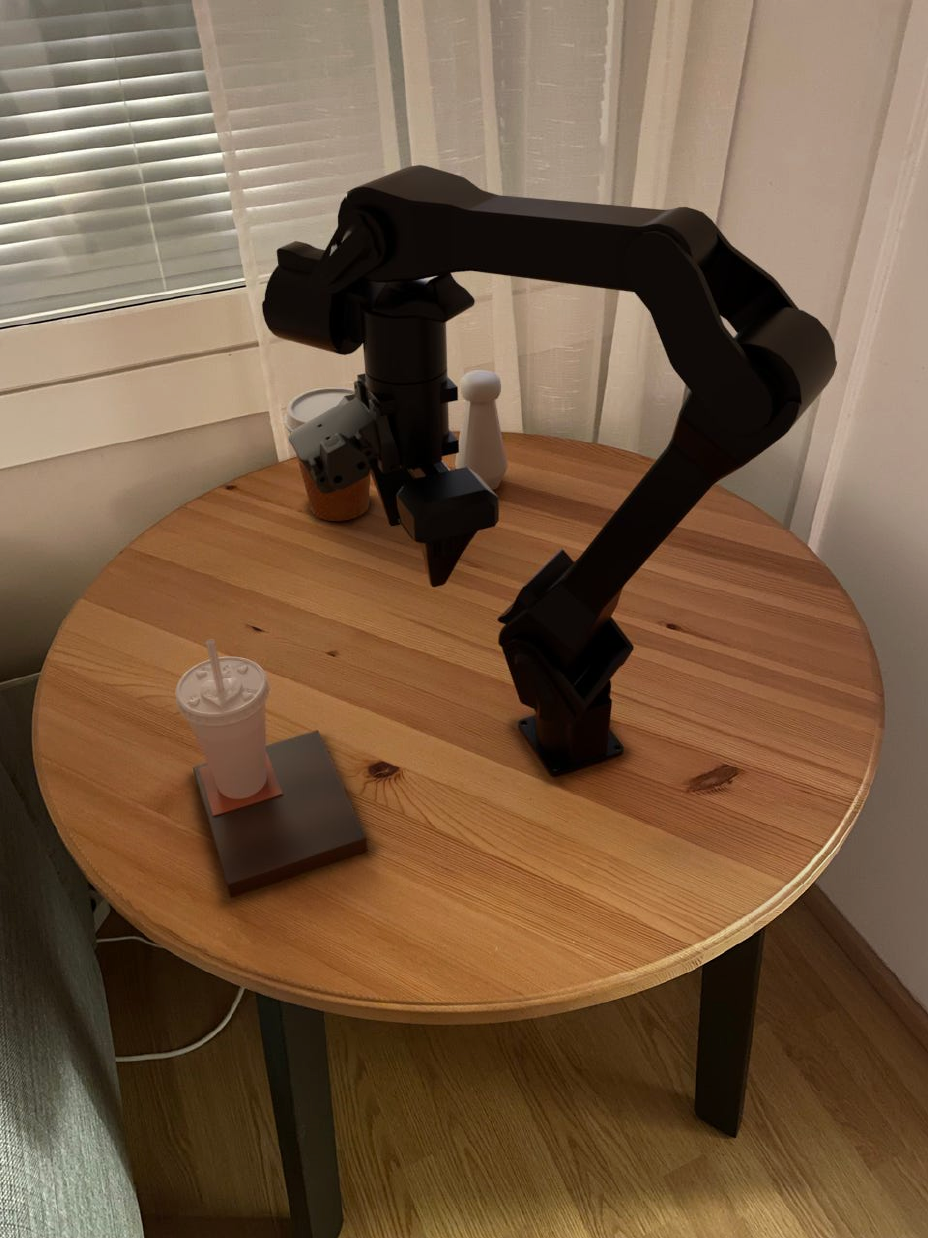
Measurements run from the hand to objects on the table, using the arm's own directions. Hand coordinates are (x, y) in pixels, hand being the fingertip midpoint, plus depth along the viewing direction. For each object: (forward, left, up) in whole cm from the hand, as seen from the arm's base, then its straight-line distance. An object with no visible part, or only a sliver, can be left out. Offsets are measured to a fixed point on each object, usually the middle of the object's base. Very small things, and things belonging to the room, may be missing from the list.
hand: (415, 553), depth 79 cm
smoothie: (-7, +17, -12) cm, 22 cm away
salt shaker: (+28, -18, -13) cm, 36 cm away
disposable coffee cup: (+30, -2, -13) cm, 33 cm away
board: (-10, +15, -13) cm, 22 cm away
